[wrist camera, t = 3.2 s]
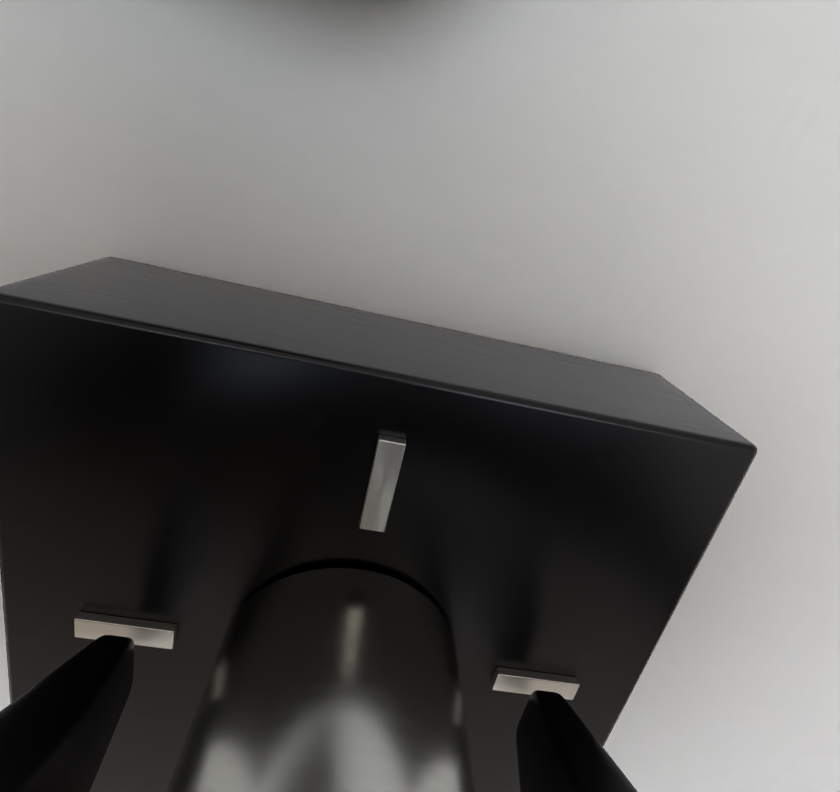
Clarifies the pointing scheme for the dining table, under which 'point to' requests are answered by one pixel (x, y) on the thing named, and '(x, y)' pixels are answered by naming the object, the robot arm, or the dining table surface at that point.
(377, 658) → the dial
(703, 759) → the dining table surface
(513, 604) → the panel
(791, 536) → the dining table surface
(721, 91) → the dining table surface
